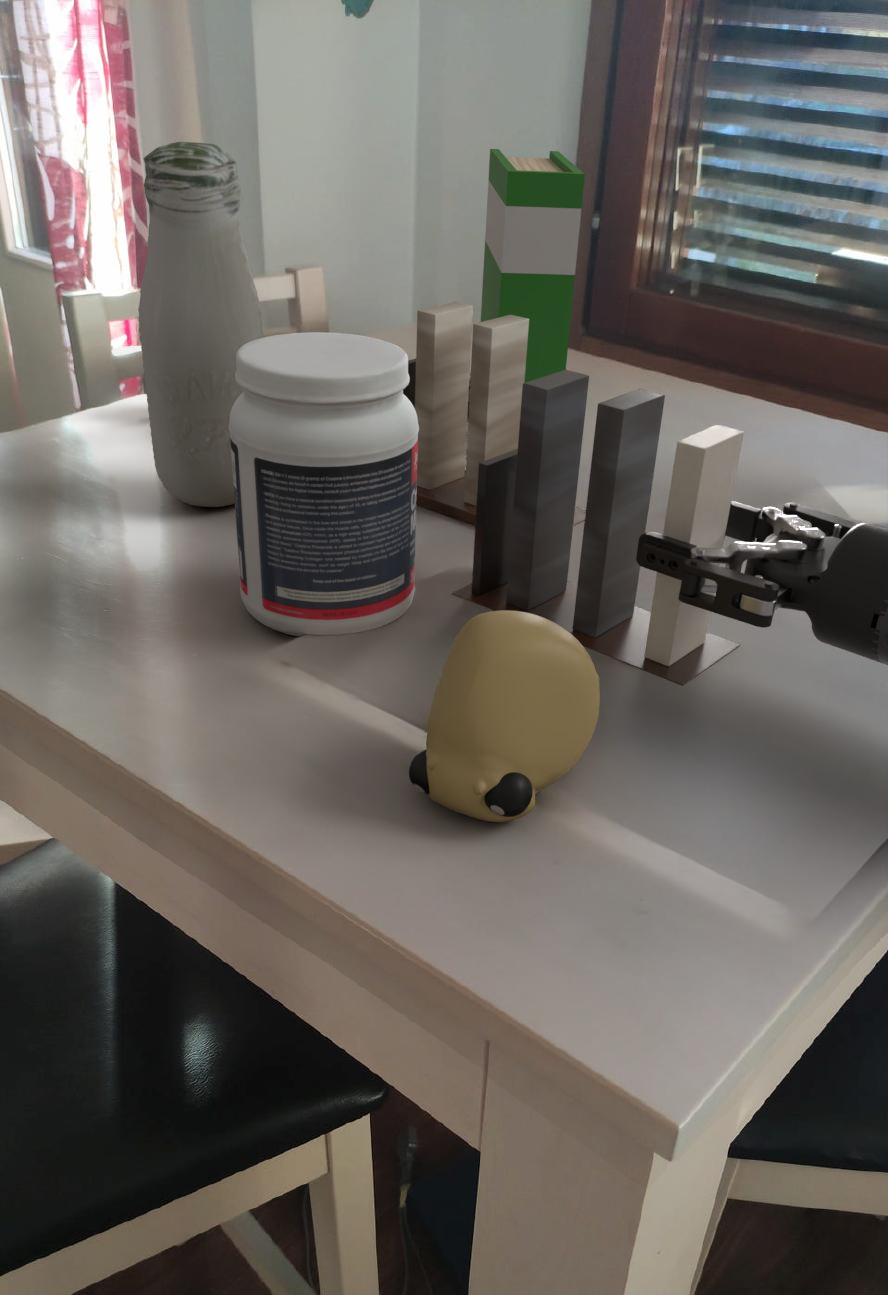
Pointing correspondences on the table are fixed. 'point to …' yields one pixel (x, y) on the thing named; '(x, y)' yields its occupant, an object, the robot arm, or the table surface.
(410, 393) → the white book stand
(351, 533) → the supplement tub
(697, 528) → the beige rectangular block
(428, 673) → the table surface
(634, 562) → the grey book stand
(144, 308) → the glass bottle
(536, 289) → the hardback book
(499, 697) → the yellow toy with eyes
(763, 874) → the table surface
